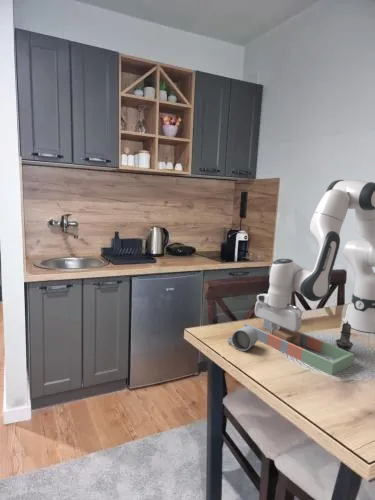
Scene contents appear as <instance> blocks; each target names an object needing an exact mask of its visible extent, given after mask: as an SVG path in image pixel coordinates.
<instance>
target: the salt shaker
mask: <svg viewBox="0 0 375 500" xmlns="http://www.w3.org/2000/svg"><path fill="white" fill-rule="evenodd" d="M351 332H352V328H351V325H350V324H349V323H348V321H347V323H345V322H344V323H343V324H342V328H341V331H340V338H339V339H336V340H335V343H336V347H338V348H341V349H343V350H346V351H348V352H351V351H350V350H351V349H352V348H353V346H354V343H353V342H351V340H350V339H351V336H352V333H351Z"/></svg>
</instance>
